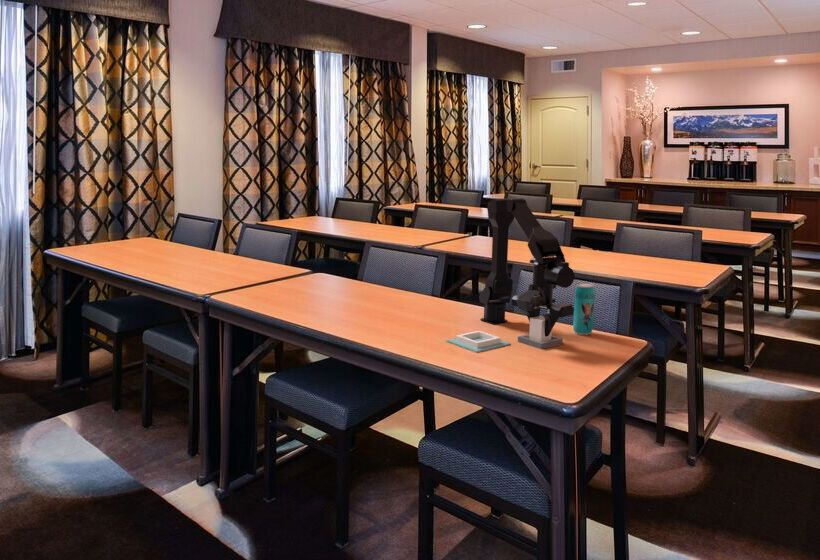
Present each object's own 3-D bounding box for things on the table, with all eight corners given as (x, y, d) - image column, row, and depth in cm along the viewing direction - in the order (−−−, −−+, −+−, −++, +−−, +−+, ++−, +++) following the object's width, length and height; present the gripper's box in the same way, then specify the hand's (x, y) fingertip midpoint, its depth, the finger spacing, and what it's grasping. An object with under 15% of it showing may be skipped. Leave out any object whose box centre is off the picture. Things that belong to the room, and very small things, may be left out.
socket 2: (517, 341, 180) (517, 336, 180) (538, 336, 186) (538, 331, 185) (541, 349, 173) (541, 343, 173) (562, 343, 179) (562, 338, 178)
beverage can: (579, 336, 186) (582, 287, 183) (569, 331, 191) (572, 283, 188) (596, 335, 187) (599, 286, 184) (585, 330, 193) (588, 282, 190)
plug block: (529, 341, 180) (530, 317, 178) (540, 338, 183) (541, 315, 181) (540, 345, 176) (541, 321, 175) (552, 342, 179) (553, 318, 178)
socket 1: (445, 341, 180) (446, 335, 179) (479, 334, 187) (479, 328, 187) (476, 352, 169) (476, 346, 169) (510, 344, 177) (510, 338, 177)
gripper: (499, 279, 178) (497, 331, 181) (549, 290, 164) (546, 347, 167) (525, 274, 185) (523, 325, 188) (576, 285, 170) (573, 340, 173)
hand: (540, 334), depth 179 cm, fingers closed on plug block, 4 cm apart
